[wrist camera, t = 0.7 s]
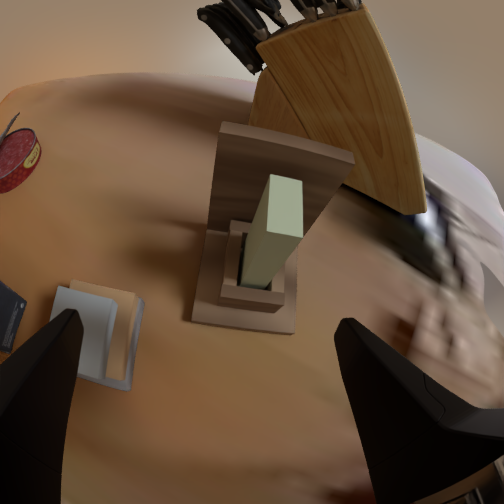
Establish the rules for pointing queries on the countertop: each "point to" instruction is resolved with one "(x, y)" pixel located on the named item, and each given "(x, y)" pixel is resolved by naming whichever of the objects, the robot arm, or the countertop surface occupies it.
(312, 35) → the knife block
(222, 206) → the walnut rack
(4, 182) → the canned food
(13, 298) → the small box
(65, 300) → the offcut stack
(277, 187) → the green board
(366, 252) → the countertop surface
